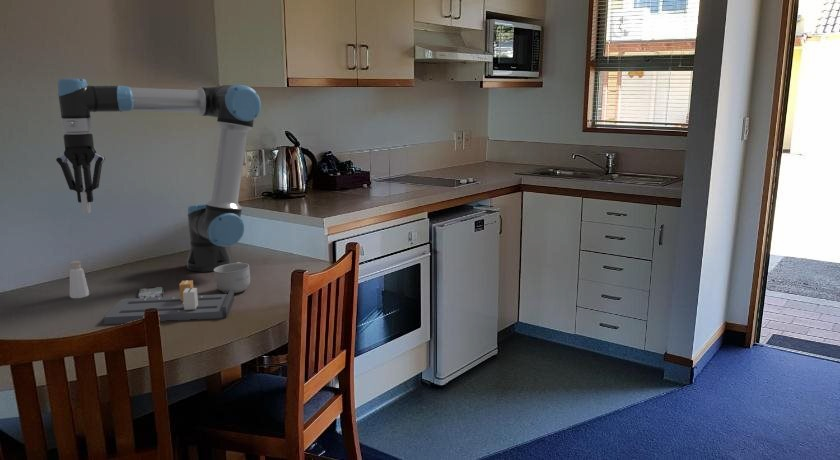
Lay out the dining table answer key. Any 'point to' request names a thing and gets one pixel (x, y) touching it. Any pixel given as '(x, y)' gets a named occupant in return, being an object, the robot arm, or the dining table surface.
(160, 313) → the console
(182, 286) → the fader orange
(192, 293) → the fader ivory
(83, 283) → the salt shaker
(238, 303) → the dining table surface
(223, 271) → the teacup
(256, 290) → the dining table surface
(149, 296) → the smartphone
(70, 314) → the dining table surface
